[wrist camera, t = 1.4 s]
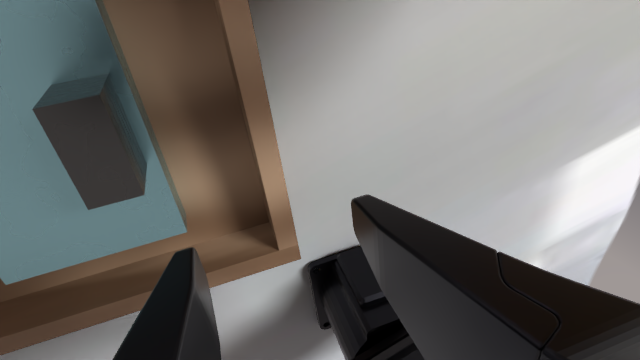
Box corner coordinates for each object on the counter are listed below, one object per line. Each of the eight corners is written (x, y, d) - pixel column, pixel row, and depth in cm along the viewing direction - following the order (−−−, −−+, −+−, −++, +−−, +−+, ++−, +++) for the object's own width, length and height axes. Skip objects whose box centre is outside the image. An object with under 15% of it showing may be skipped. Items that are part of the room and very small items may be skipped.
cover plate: (186, 214, 21) (189, 266, 17) (16, 262, 19) (-16, 329, 16) (81, -54, 14) (56, -50, 11) (-190, -13, 13) (-315, 5, 9)
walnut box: (285, 220, 24) (301, 258, 21) (-99, 335, 20) (-142, 400, 17) (198, -174, 14) (206, -201, 11) (-581, -97, 10) (-863, -109, 8)
